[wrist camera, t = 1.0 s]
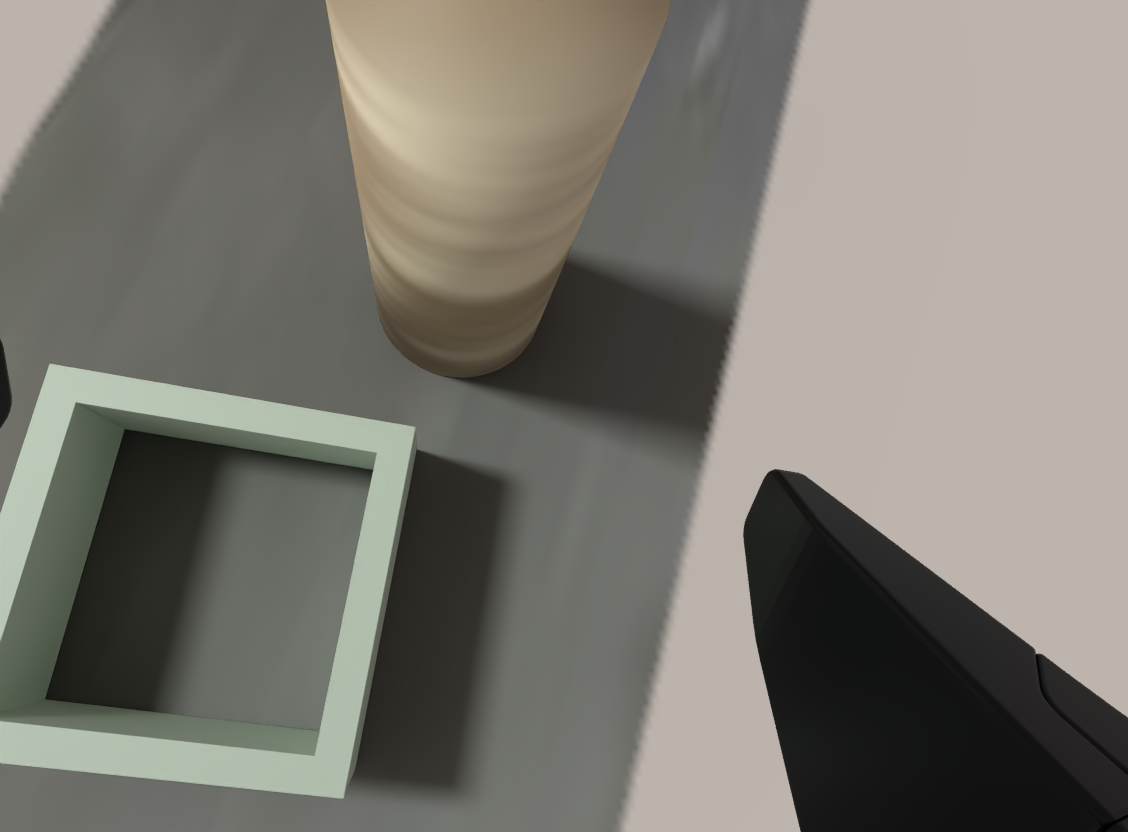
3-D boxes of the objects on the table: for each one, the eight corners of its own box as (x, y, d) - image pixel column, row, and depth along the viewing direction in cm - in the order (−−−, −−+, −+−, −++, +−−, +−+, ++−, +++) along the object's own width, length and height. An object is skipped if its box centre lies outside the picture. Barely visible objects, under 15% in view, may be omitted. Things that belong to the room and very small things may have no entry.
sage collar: (355, 768, 20) (343, 798, 17) (-1, 729, 18) (-79, 754, 16) (416, 449, 22) (415, 427, 19) (102, 395, 21) (49, 363, 18)
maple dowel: (568, 339, 23) (731, 51, 11) (419, 404, 22) (412, 160, 10) (498, 202, 24) (576, -217, 12) (349, 257, 23) (258, -147, 10)
